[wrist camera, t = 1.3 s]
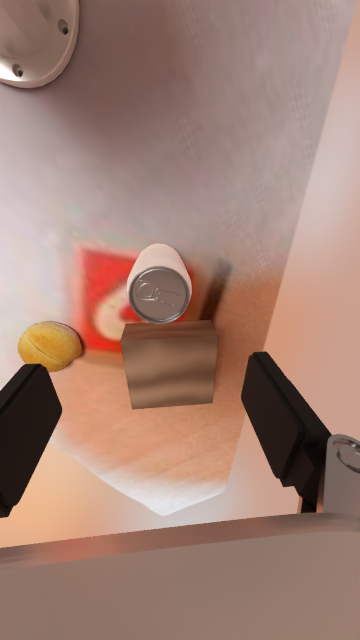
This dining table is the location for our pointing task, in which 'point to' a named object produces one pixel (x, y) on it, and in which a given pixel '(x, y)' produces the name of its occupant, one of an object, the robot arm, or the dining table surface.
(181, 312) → the can
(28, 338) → the bread roll
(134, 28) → the dining table surface
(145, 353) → the block
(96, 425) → the dining table surface
